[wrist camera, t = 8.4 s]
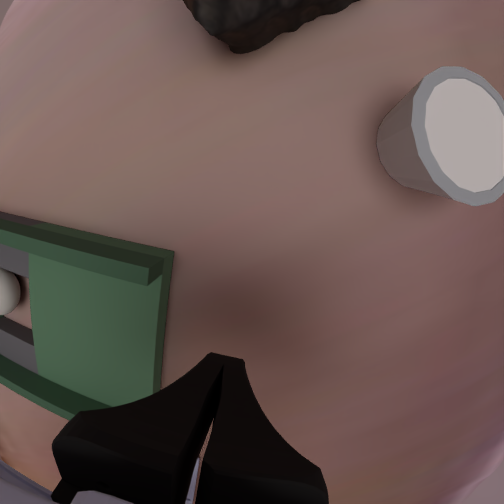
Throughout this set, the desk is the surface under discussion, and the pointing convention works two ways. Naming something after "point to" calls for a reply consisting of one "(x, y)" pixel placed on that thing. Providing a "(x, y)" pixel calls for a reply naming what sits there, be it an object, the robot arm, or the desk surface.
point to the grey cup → (447, 137)
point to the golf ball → (8, 291)
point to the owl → (257, 18)
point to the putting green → (83, 317)
